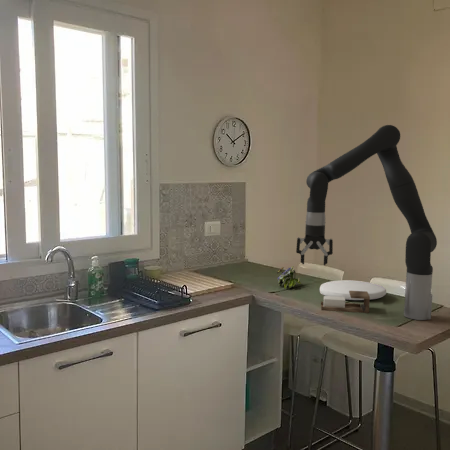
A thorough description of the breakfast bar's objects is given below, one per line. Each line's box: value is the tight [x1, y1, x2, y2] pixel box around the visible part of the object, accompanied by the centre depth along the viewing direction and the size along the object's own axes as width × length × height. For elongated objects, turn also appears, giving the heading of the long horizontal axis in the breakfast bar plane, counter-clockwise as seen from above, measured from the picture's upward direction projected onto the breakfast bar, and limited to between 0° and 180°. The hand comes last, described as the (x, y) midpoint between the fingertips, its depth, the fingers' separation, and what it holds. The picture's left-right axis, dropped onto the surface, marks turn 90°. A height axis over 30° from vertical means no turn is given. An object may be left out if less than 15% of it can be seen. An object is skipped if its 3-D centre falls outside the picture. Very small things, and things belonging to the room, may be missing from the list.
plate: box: [319, 279, 387, 301], centre depth 228 cm, size 28×6×27 cm
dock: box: [320, 291, 370, 314], centre depth 205 cm, size 18×8×7 cm, turn 81°
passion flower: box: [276, 266, 302, 290], centre depth 243 cm, size 11×11×12 cm
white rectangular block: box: [323, 295, 346, 308], centre depth 206 cm, size 8×5×4 cm, turn 81°
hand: (313, 264), depth 205 cm, fingers open, 8 cm apart
